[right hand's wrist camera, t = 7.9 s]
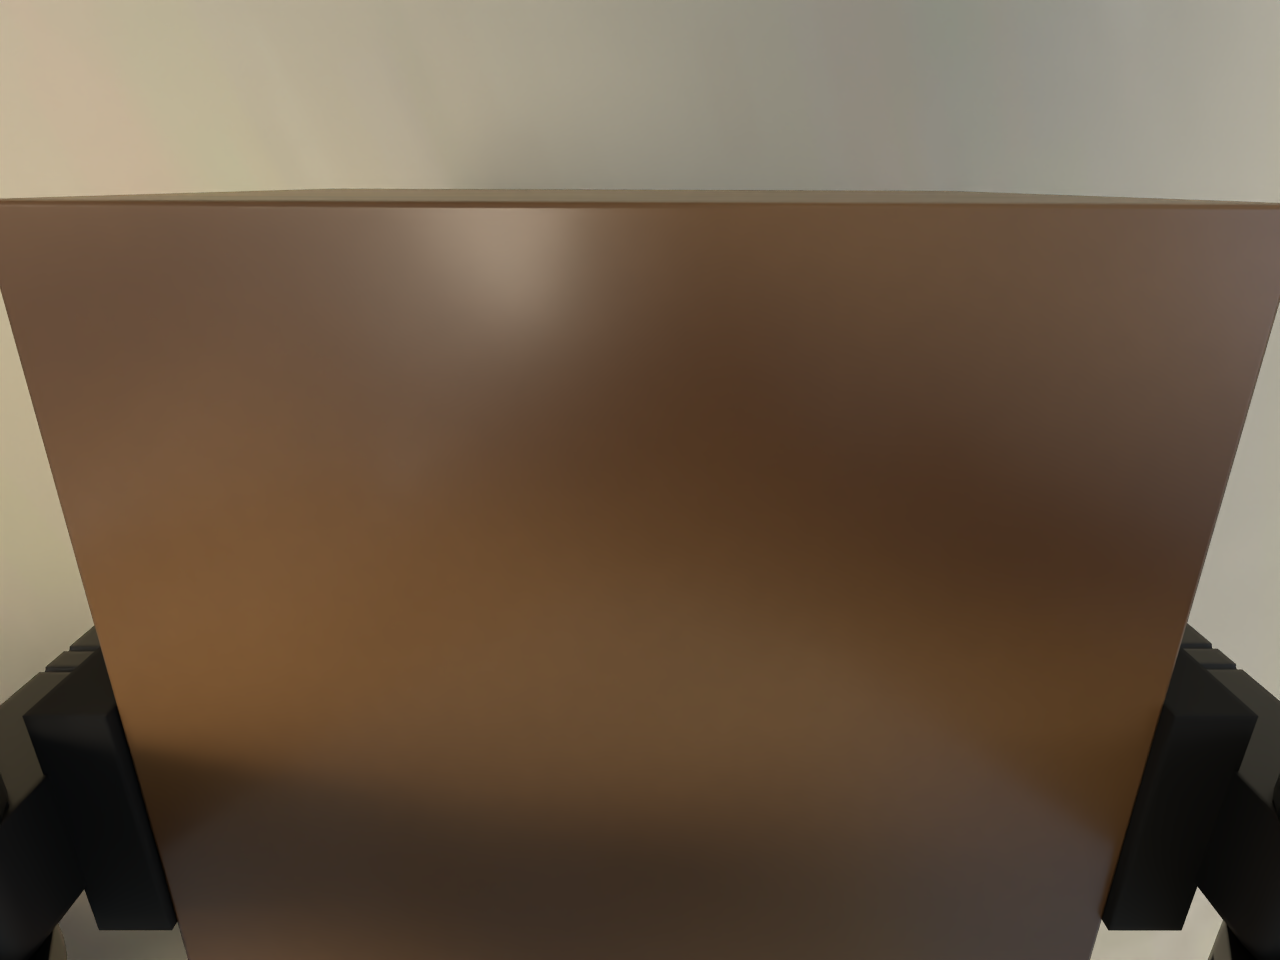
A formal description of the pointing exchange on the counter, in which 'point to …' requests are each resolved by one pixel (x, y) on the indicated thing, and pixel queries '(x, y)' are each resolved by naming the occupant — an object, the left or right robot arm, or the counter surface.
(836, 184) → the counter surface
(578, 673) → the thick board
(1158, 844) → the right robot arm
